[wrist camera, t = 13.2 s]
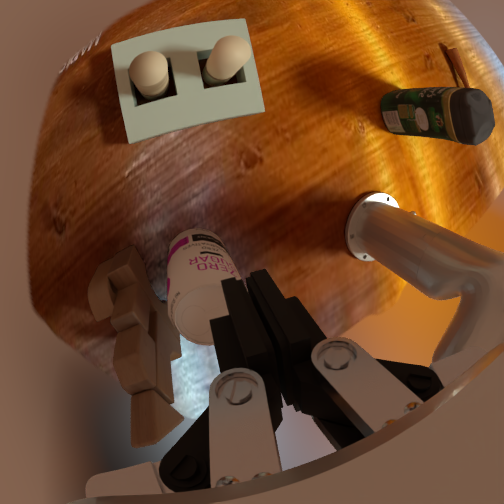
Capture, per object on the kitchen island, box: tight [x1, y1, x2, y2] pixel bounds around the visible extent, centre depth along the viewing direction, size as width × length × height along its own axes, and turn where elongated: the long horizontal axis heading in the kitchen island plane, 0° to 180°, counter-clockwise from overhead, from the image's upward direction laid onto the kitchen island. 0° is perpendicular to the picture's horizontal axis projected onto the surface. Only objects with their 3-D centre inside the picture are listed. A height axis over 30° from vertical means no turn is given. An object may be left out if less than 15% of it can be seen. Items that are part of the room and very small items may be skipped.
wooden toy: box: [88, 245, 184, 448], centre depth 27 cm, size 16×7×25 cm, turn 20°
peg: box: [129, 51, 169, 101], centre depth 23 cm, size 4×4×10 cm
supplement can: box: [167, 228, 248, 346], centre depth 31 cm, size 8×8×15 cm
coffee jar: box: [381, 87, 495, 146], centre depth 29 cm, size 10×8×19 cm
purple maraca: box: [445, 48, 470, 88], centre depth 37 cm, size 6×6×20 cm
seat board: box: [111, 19, 265, 144], centre depth 24 cm, size 16×13×10 cm
